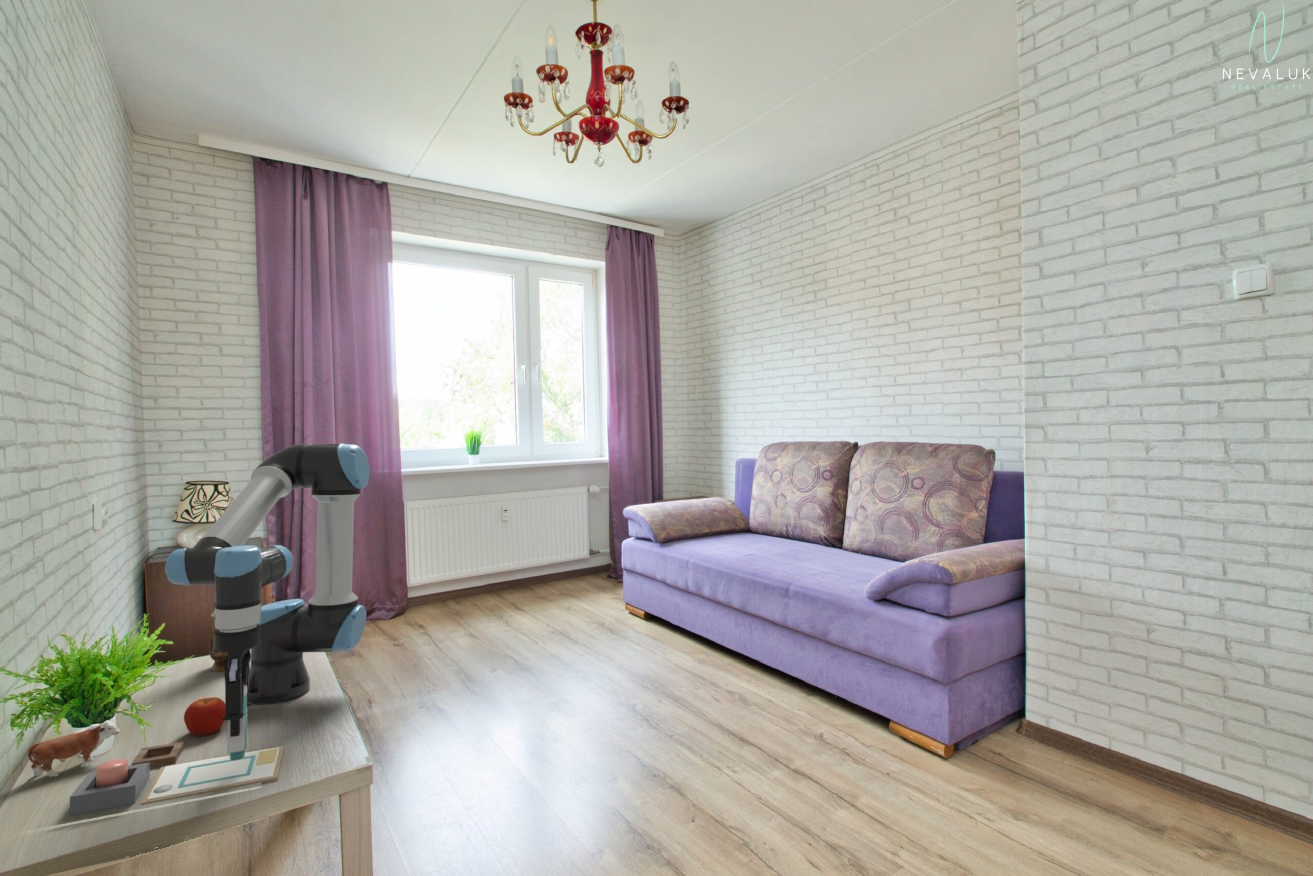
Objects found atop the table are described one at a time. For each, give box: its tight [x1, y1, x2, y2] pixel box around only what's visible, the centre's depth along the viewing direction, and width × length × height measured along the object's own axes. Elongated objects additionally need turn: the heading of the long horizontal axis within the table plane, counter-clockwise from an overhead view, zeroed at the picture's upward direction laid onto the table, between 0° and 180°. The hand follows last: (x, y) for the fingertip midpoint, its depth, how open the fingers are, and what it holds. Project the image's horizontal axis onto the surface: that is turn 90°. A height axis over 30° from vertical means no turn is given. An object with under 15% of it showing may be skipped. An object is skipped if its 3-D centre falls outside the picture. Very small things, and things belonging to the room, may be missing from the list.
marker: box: [229, 685, 248, 760], centre depth 124 cm, size 3×3×14 cm
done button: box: [95, 758, 129, 788], centre depth 116 cm, size 4×4×3 cm
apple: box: [183, 696, 226, 737], centre depth 142 cm, size 8×8×8 cm
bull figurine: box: [27, 720, 121, 778], centre depth 126 cm, size 4×13×8 cm, turn 138°
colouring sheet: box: [140, 745, 285, 805], centre depth 124 cm, size 14×21×1 cm, turn 116°
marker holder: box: [130, 741, 184, 769], centre depth 129 cm, size 7×7×2 cm
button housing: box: [69, 762, 151, 816], centre depth 116 cm, size 9×9×4 cm
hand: (237, 746), depth 124 cm, fingers closed on marker, 3 cm apart
